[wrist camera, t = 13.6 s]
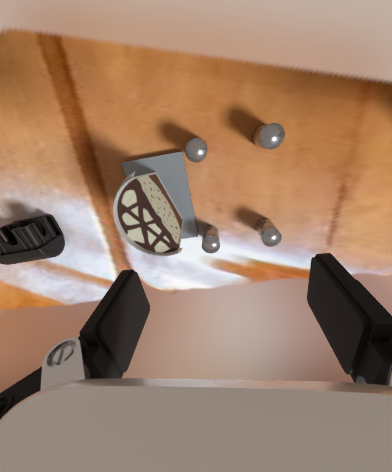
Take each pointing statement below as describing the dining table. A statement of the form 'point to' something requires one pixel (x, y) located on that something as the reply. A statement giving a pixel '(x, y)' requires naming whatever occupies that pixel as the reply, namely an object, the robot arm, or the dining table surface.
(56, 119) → the dining table surface
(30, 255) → the end cap
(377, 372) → the robot arm
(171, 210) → the food container
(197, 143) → the spacers
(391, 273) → the dining table surface
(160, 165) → the pad
